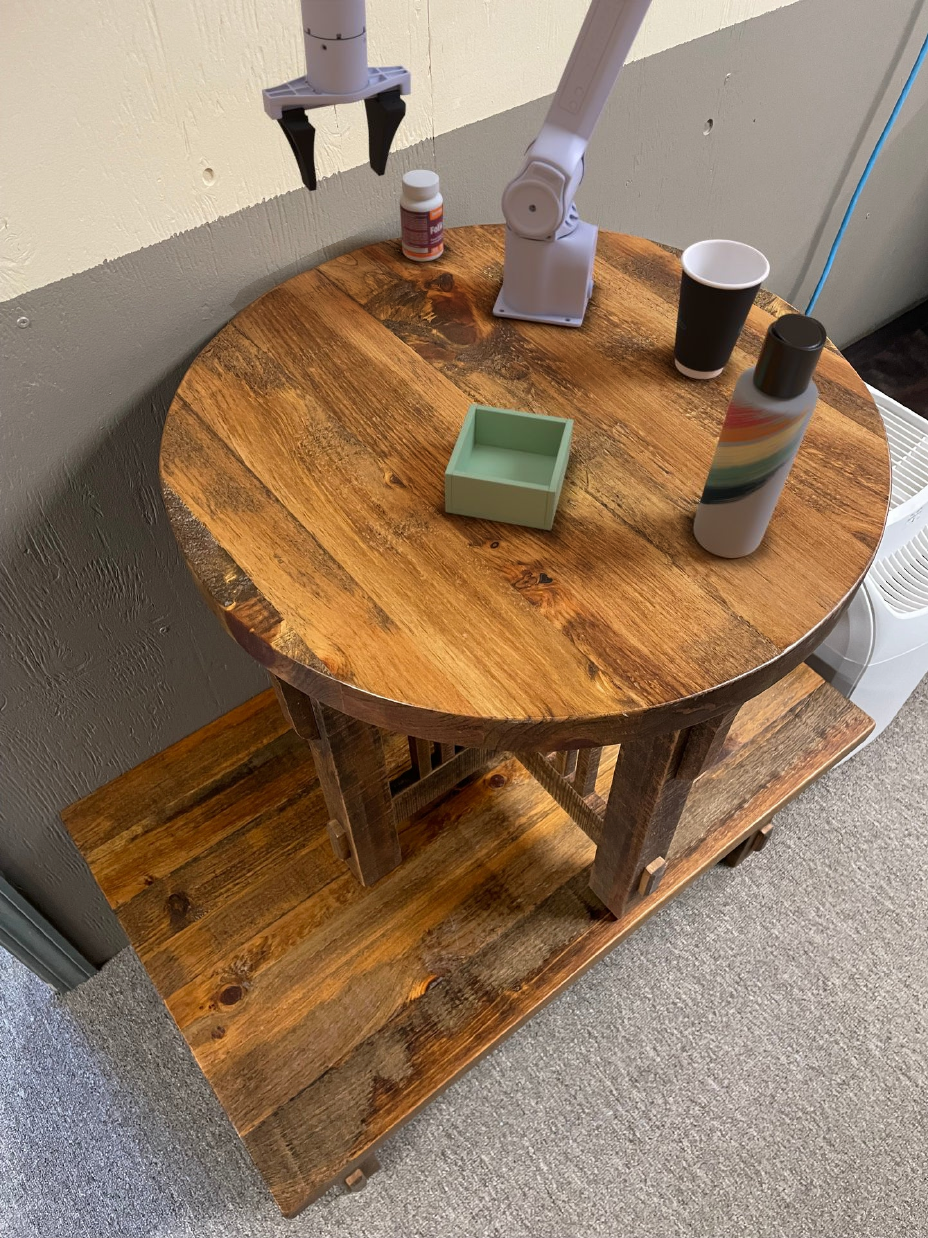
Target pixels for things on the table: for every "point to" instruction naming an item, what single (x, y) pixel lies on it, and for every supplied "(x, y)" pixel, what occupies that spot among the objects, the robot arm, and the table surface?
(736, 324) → the dixie cup
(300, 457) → the table surface
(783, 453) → the lotion bottle
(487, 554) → the table surface
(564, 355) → the table surface
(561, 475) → the sage green tray box
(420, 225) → the pill bottle
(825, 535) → the table surface
